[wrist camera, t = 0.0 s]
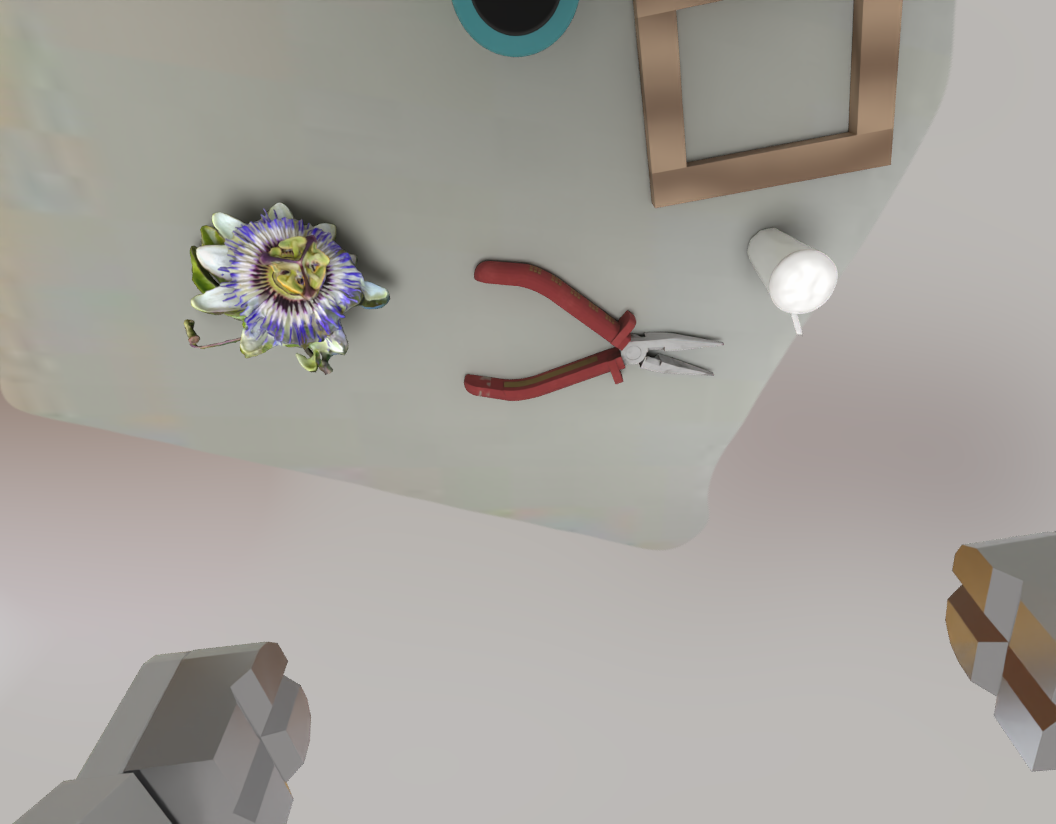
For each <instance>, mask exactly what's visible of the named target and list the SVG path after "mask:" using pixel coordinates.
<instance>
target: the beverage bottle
mask: <svg viewBox="0 0 1056 824" xmlns="http://www.w3.org/2000/svg"><path fill="white" fill-rule="evenodd" d="M578 2H579V0H452V3H453V6H454V9H455V12H456V14H457V16H458V18H459V20H460V22H461V24H462V25H463V27H464V28H465V30H466V31H467V32H468V33H469V35H470V36H471V37H472V38H473V39H474V40H475V41H476V42H477V43H479V44H480V45H481V46H483V47H484V48H486V49H488V50H490V51H492V52H494V53H496V54H500V55H503V56H510V57H523V56H529V55H532V54H535V53H538V52H540V51H542V50H544V49H546V48H547V47H549V46H550V45H552V44H553V43H554V42H555V41H557V40H558V39H559V38H560V37H561V35H562V34H563V33H564V32H565V30H566V29H567V27H568V26H569V24H570V23H571V21H572V19H573V17H574V14H575V12H576V9H577V6H578Z"/></svg>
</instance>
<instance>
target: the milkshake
mask: <svg viewBox="0 0 1056 824" xmlns="http://www.w3.org/2000/svg"><path fill="white" fill-rule="evenodd" d="M747 254H748V256H749V259H750V261H751V263H752V265H753V267H754V269H755V270H756V272H757V273H758V275H759V277H760V278H761V280H762V281H763V283H764V285H765V287H766V289H767V291H768V293H769V295H770V297H771V299H772V300H773V302H774V304H775V305H776V306H777V307H778V308H779V309H781V310H783V311H785V312H788V313H791V316H792V320H793V324H794V327H795V331H796V334H797V335H803V333H802V329H801V325H800V322H799V318H798V314H802V313H808V312H811V311H813V310H815V309H817V308H818V307H820V306H821V305H823V304H824V303H825V302H826V301H827V300H828V299H829V297H830V296H831V294H832V293H833V290H834V288H835V286H836V283H837V278H838V272H837V268H836V265H835V264H834V262H833V261H832V260H831V259H830V258H829V257H828V256H827V255H826V254H824V253H823V252H820V251H818V250H816V249H814V248H812V247H810V246H808V245H806V244H803V243H802V242H800V241H798V240H797V239H795V238H793V237H791V236H790V235H788V234H786V233H784V232H782V231H780V230H778V229H776V228H774V227H773V228H769V229H764V230H760V231H759V232H758V233H757V234H756V235H755V236H754V237H753V238H752V239H750V242H749V246H748V250H747Z"/></svg>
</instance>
